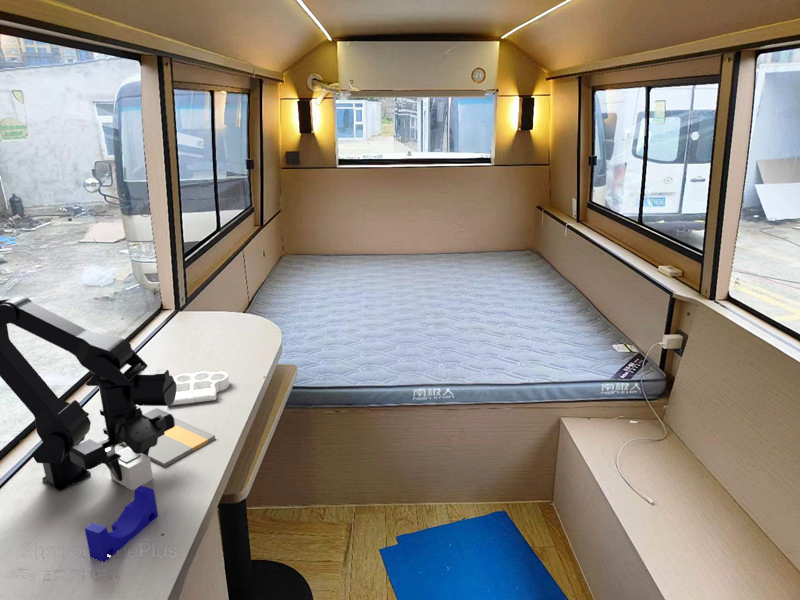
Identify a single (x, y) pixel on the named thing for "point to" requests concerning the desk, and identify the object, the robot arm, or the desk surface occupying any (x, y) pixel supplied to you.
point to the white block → (133, 469)
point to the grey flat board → (178, 443)
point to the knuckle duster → (199, 386)
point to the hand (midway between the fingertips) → (131, 474)
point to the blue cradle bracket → (122, 525)
